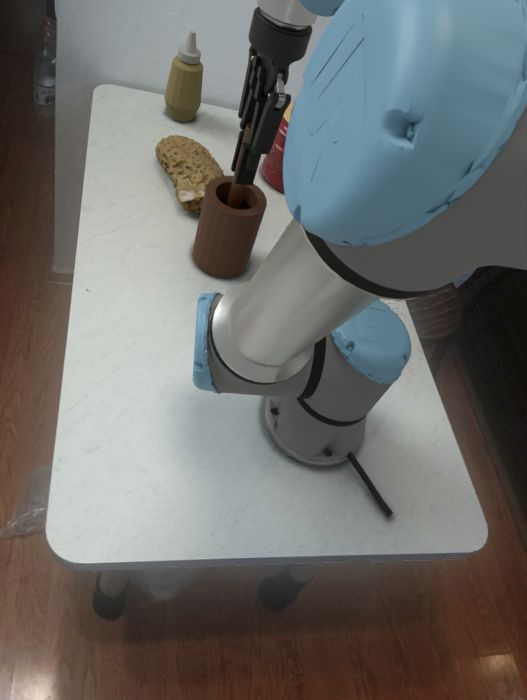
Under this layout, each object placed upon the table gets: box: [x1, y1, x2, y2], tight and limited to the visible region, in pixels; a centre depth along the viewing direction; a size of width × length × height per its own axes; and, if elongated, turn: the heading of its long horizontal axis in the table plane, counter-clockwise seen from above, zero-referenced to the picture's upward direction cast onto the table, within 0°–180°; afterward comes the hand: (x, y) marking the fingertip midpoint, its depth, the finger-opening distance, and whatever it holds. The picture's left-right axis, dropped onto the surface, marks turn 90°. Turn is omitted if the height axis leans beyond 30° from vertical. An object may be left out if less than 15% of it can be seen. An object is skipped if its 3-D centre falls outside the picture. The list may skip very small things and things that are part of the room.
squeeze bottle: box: [163, 30, 204, 123], centre depth 115 cm, size 8×8×18 cm
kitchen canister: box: [261, 102, 295, 194], centre depth 111 cm, size 13×13×18 cm
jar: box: [191, 175, 268, 279], centre depth 92 cm, size 10×10×14 cm
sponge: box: [154, 134, 225, 214], centre depth 104 cm, size 13×8×20 cm
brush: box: [226, 122, 252, 210], centre depth 85 cm, size 4×4×22 cm
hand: (241, 176), depth 84 cm, fingers closed on brush, 2 cm apart
